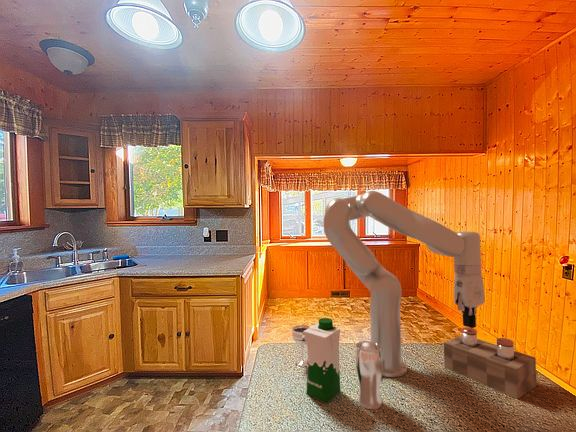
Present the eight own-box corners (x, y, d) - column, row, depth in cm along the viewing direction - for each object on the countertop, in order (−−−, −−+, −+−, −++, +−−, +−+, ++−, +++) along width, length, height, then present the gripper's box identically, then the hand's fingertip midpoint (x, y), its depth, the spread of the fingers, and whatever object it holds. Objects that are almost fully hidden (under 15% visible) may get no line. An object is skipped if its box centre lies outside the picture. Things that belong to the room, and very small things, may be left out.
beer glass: (383, 396, 79) (381, 342, 80) (383, 413, 73) (381, 353, 73) (357, 392, 82) (356, 339, 82) (355, 407, 75) (353, 350, 75)
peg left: (473, 357, 90) (472, 333, 90) (460, 352, 94) (459, 329, 94) (480, 353, 92) (479, 330, 92) (467, 349, 96) (466, 326, 96)
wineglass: (293, 358, 102) (292, 325, 102) (312, 359, 102) (311, 325, 102) (292, 368, 95) (291, 332, 96) (312, 369, 95) (311, 332, 95)
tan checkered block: (517, 399, 77) (516, 369, 77) (444, 367, 94) (443, 342, 94) (536, 385, 83) (535, 357, 83) (464, 357, 100) (464, 334, 100)
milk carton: (344, 391, 82) (343, 321, 83) (327, 407, 76) (325, 331, 76) (319, 380, 88) (318, 315, 88) (301, 394, 81) (299, 323, 82)
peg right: (510, 371, 82) (509, 344, 82) (494, 365, 85) (493, 339, 85) (517, 367, 84) (516, 341, 84) (501, 361, 87) (500, 336, 87)
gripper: (466, 274, 86) (468, 335, 86) (492, 268, 94) (494, 325, 93) (442, 270, 93) (444, 327, 93) (468, 265, 100) (469, 318, 100)
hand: (469, 326), depth 93 cm, fingers closed
